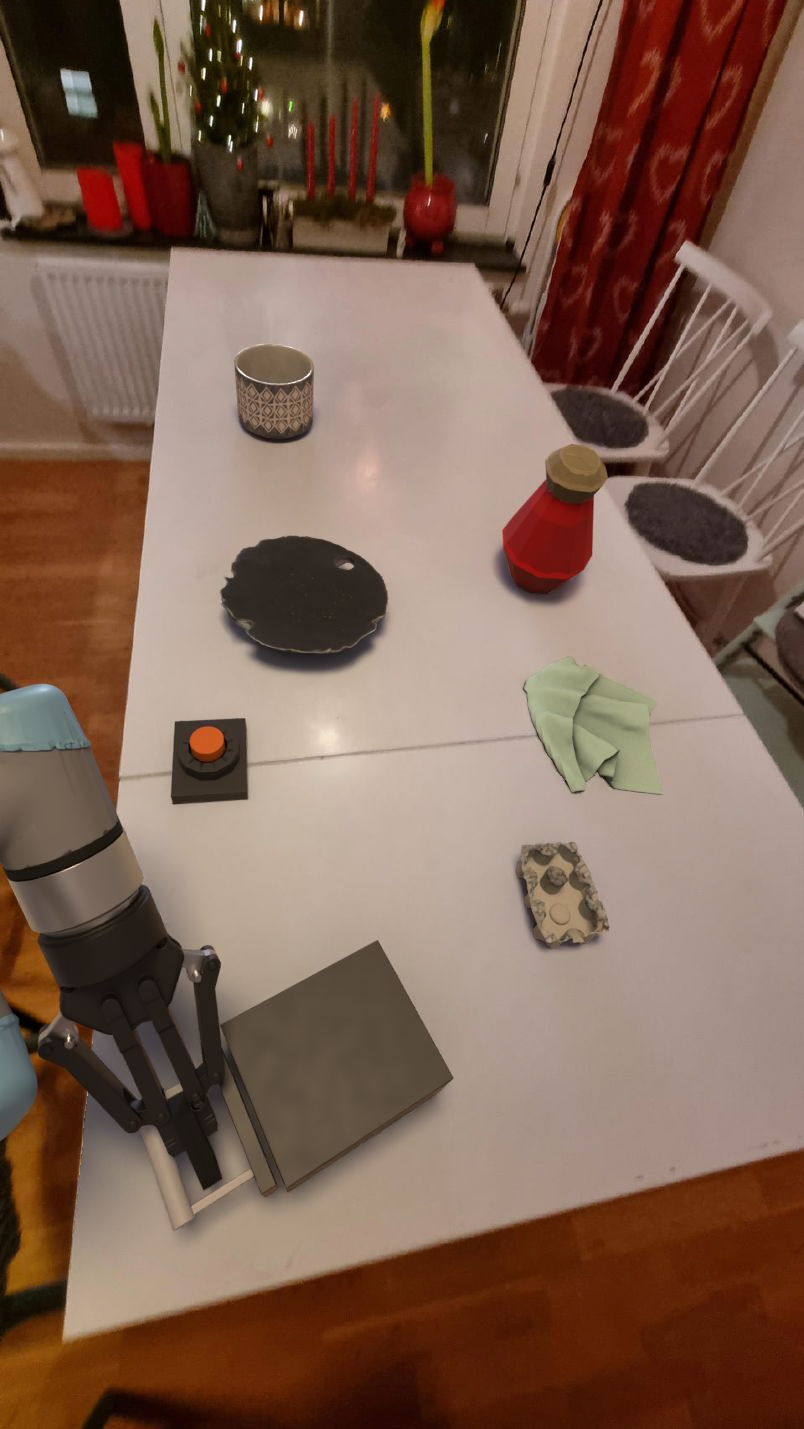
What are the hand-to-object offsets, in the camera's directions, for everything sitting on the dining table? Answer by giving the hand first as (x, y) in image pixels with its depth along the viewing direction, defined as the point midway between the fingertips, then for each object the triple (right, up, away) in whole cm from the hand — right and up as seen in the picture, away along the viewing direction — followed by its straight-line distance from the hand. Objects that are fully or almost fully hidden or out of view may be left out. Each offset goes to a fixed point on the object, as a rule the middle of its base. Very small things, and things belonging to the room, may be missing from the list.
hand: (209, 1172), depth 53 cm
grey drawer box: (+8, +3, +9) cm, 13 cm away
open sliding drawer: (+4, +2, +7) cm, 8 cm away
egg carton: (+31, +15, +22) cm, 41 cm away
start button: (-7, +31, +24) cm, 40 cm away
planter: (-7, +86, +68) cm, 109 cm away
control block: (-7, +30, +26) cm, 40 cm away
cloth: (+39, +33, +36) cm, 63 cm away
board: (+1, +48, +42) cm, 64 cm away
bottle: (+35, +57, +53) cm, 85 cm away
